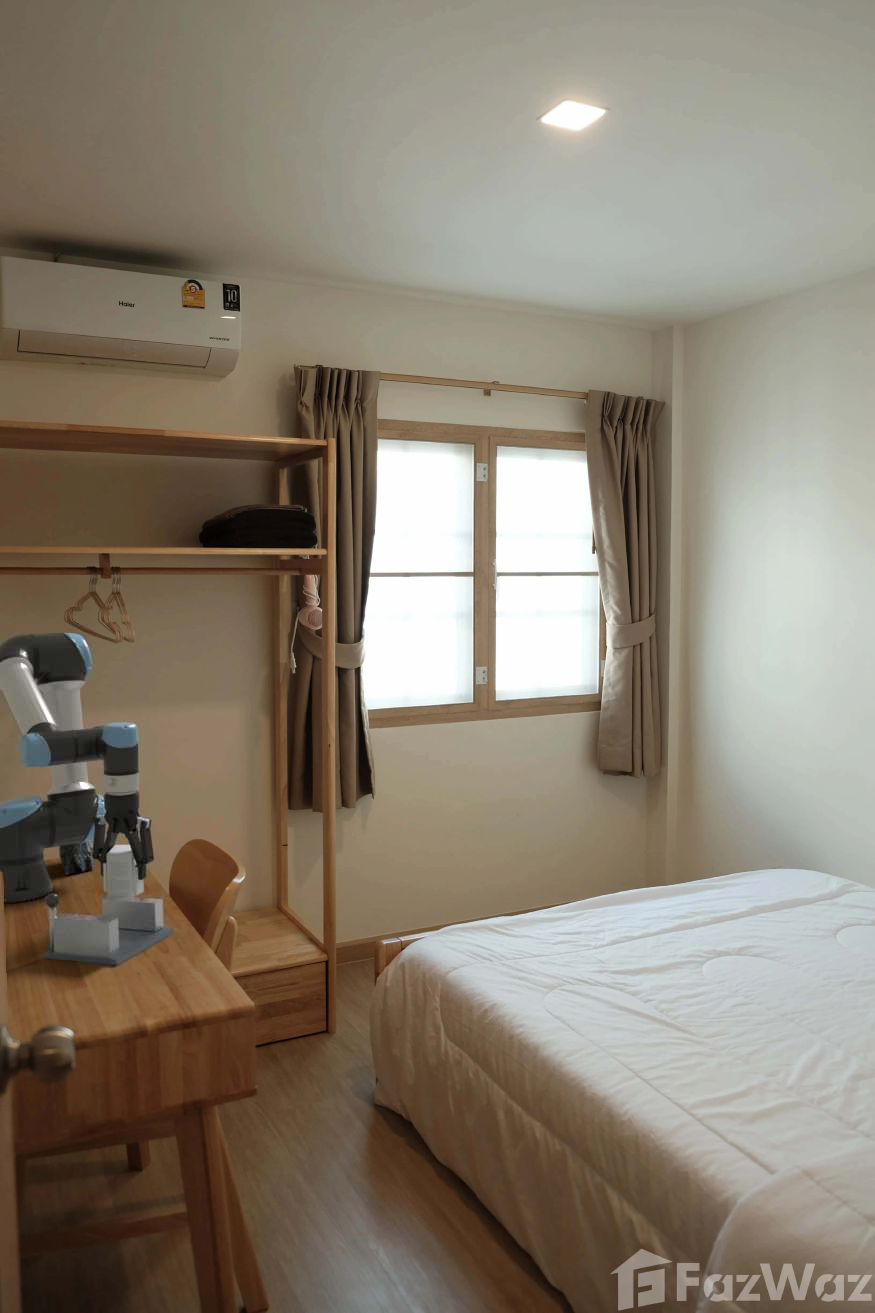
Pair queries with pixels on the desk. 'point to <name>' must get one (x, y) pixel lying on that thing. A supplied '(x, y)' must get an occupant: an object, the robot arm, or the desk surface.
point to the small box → (120, 871)
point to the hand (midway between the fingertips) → (123, 891)
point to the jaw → (134, 912)
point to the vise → (95, 937)
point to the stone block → (77, 857)
